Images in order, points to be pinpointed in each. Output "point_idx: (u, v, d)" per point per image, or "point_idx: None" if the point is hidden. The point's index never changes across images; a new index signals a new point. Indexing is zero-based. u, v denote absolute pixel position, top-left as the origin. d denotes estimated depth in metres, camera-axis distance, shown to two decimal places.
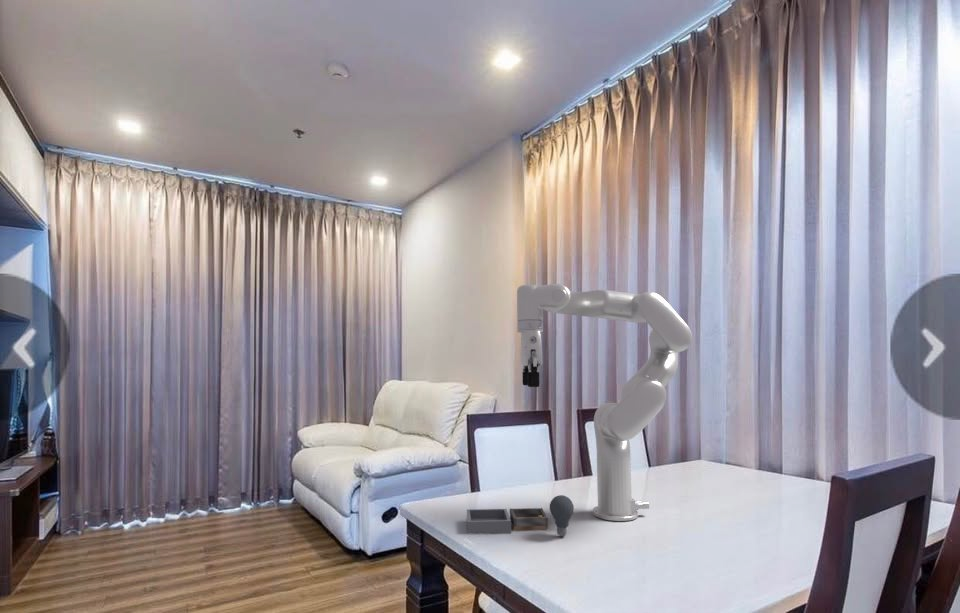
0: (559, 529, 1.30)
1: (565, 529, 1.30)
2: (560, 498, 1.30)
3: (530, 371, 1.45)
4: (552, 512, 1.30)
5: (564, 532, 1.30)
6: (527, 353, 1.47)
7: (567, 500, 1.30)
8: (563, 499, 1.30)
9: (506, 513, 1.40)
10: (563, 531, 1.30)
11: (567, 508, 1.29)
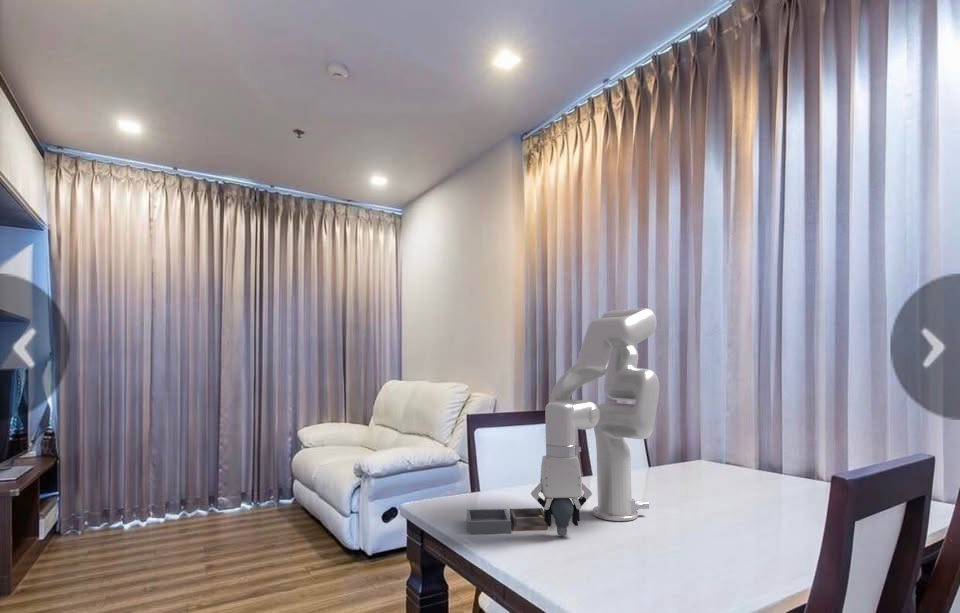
0: (559, 529, 1.30)
1: (565, 529, 1.30)
2: (560, 498, 1.30)
3: None
4: (552, 512, 1.30)
5: (564, 532, 1.30)
6: (581, 483, 1.30)
7: (567, 500, 1.30)
8: (563, 499, 1.30)
9: (506, 513, 1.40)
10: (563, 531, 1.30)
11: (567, 508, 1.29)
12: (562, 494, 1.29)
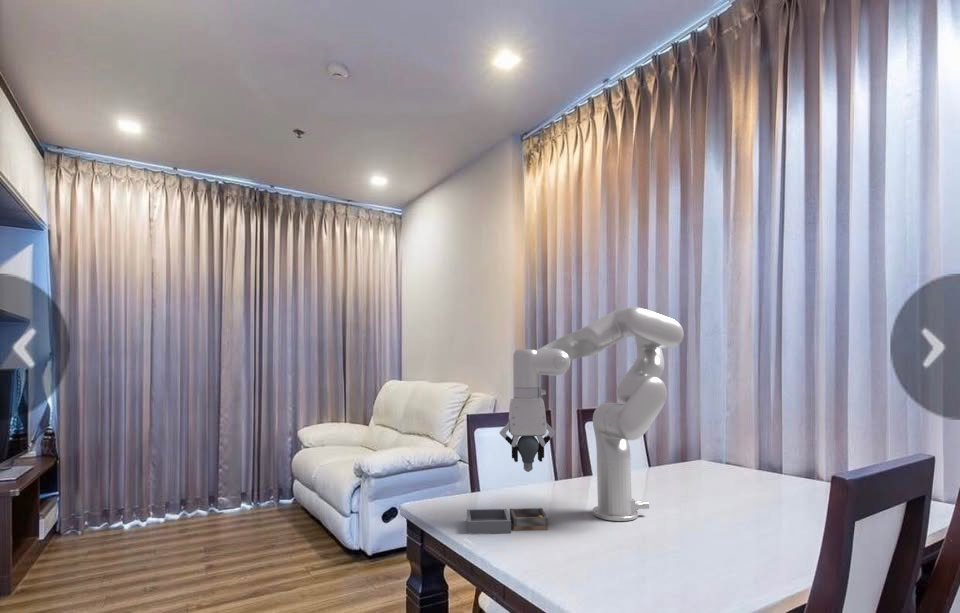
0: (525, 465, 1.41)
1: (531, 465, 1.41)
2: (526, 436, 1.41)
3: (544, 445, 1.41)
4: (519, 449, 1.41)
5: (530, 467, 1.40)
6: (546, 423, 1.41)
7: (533, 438, 1.41)
8: (529, 437, 1.41)
9: (506, 513, 1.40)
10: (529, 466, 1.40)
11: (532, 445, 1.39)
12: (528, 432, 1.40)
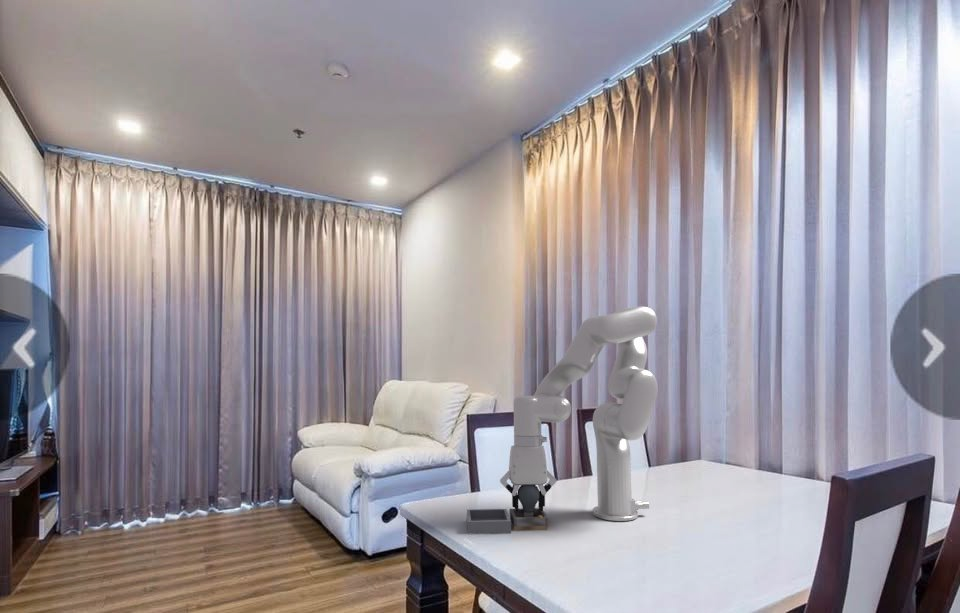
0: (526, 514, 1.40)
1: (531, 514, 1.39)
2: (527, 485, 1.40)
3: None
4: (519, 498, 1.39)
5: (530, 516, 1.39)
6: (547, 471, 1.40)
7: (533, 487, 1.39)
8: (529, 485, 1.39)
9: (506, 513, 1.40)
10: (529, 515, 1.39)
11: (533, 494, 1.38)
12: (528, 481, 1.39)
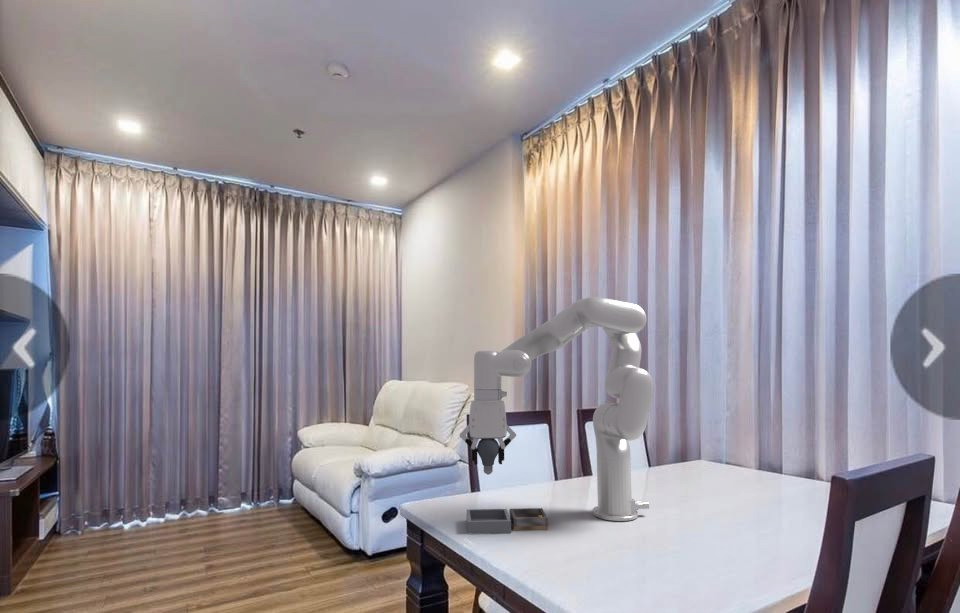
0: (485, 467, 1.39)
1: (490, 467, 1.39)
2: None
3: (504, 448, 1.40)
4: (478, 451, 1.39)
5: (489, 470, 1.39)
6: (506, 425, 1.40)
7: (492, 440, 1.39)
8: (488, 439, 1.39)
9: (506, 513, 1.40)
10: (488, 469, 1.39)
11: (492, 447, 1.38)
12: (487, 434, 1.39)
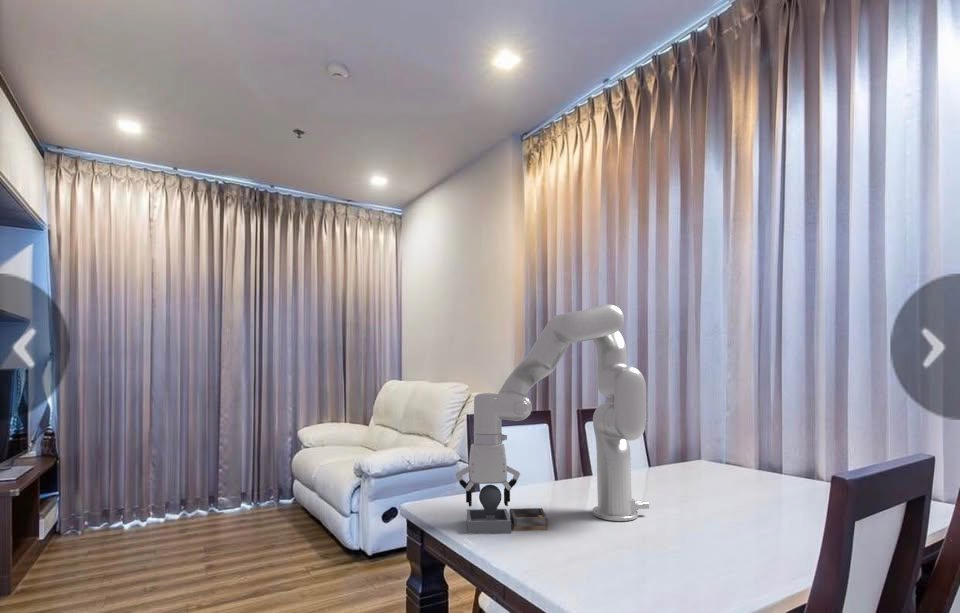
0: (487, 516, 1.38)
1: (493, 516, 1.38)
2: (488, 487, 1.38)
3: (510, 488, 1.39)
4: (480, 500, 1.38)
5: (492, 519, 1.38)
6: (506, 470, 1.39)
7: (495, 489, 1.38)
8: (490, 488, 1.38)
9: (506, 513, 1.40)
10: (491, 518, 1.38)
11: (494, 496, 1.37)
12: (487, 479, 1.38)
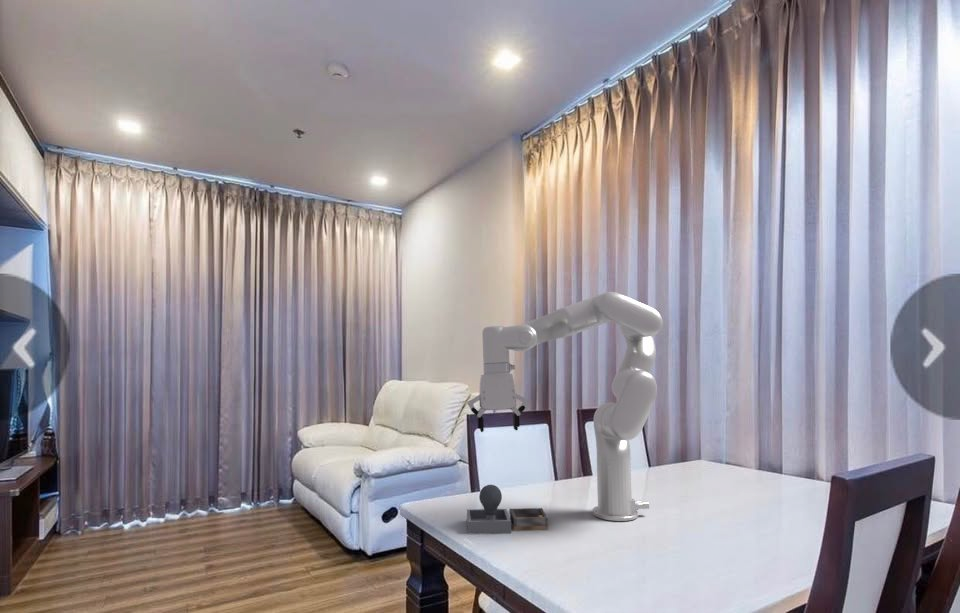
0: (487, 516, 1.38)
1: (493, 516, 1.38)
2: (488, 487, 1.38)
3: None
4: (481, 500, 1.38)
5: (492, 519, 1.38)
6: (515, 396, 1.46)
7: (495, 489, 1.38)
8: (491, 488, 1.38)
9: (506, 513, 1.40)
10: (491, 518, 1.38)
11: (494, 496, 1.37)
12: (498, 406, 1.45)
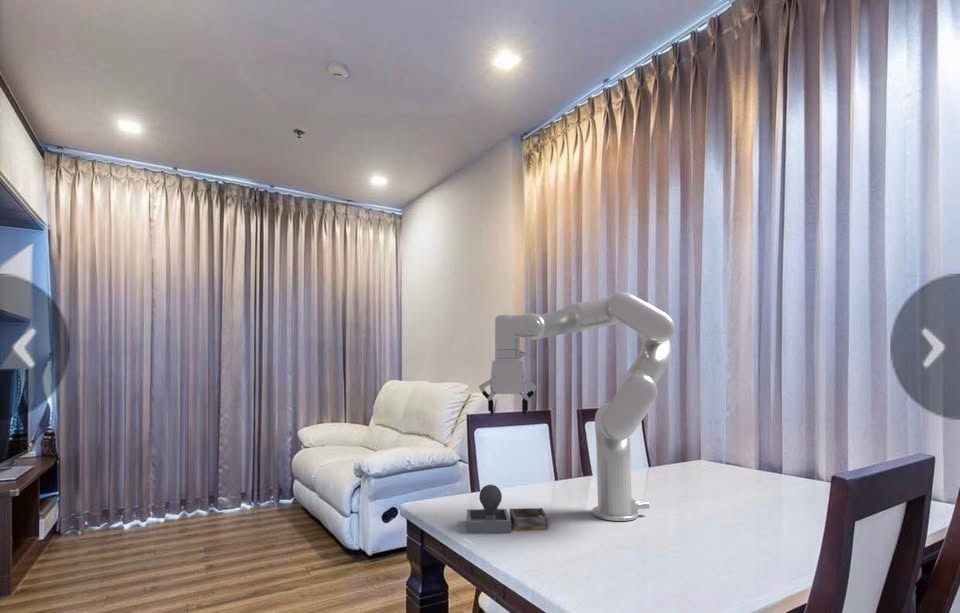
0: (487, 516, 1.38)
1: (493, 516, 1.38)
2: (488, 487, 1.38)
3: (528, 399, 1.54)
4: (481, 500, 1.38)
5: (492, 519, 1.38)
6: (524, 382, 1.54)
7: (495, 489, 1.38)
8: (491, 488, 1.38)
9: (506, 513, 1.40)
10: (491, 518, 1.38)
11: (494, 496, 1.37)
12: (508, 390, 1.53)
